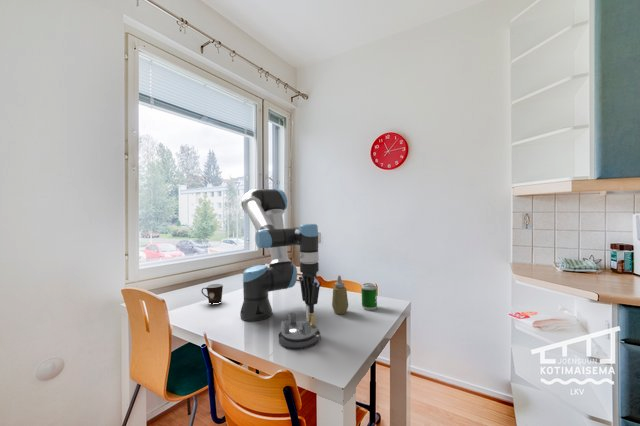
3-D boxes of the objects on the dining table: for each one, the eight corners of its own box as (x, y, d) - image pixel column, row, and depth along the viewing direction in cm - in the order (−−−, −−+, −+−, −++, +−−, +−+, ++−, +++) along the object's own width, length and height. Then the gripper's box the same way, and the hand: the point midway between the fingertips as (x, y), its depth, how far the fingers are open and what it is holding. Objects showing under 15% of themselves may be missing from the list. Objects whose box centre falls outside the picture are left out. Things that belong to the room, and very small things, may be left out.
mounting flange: (271, 346, 97) (270, 340, 97) (289, 328, 112) (289, 323, 112) (311, 352, 92) (311, 346, 92) (325, 332, 107) (324, 326, 107)
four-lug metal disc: (275, 331, 104) (275, 316, 104) (305, 322, 111) (305, 308, 111) (291, 345, 92) (291, 328, 92) (323, 334, 100) (323, 319, 100)
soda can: (374, 312, 127) (373, 287, 127) (359, 309, 131) (358, 285, 131) (379, 307, 134) (378, 283, 134) (365, 304, 138) (364, 282, 138)
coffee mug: (226, 302, 148) (226, 284, 148) (213, 307, 141) (212, 288, 141) (213, 299, 155) (213, 282, 155) (200, 303, 147) (199, 285, 147)
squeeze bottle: (347, 316, 123) (346, 277, 123) (330, 315, 125) (329, 277, 125) (349, 309, 131) (348, 274, 131) (333, 309, 133) (332, 273, 133)
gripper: (293, 260, 109) (294, 317, 109) (310, 265, 98) (311, 328, 98) (308, 258, 113) (309, 313, 113) (326, 263, 103) (327, 323, 103)
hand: (310, 320), depth 106 cm, fingers closed
